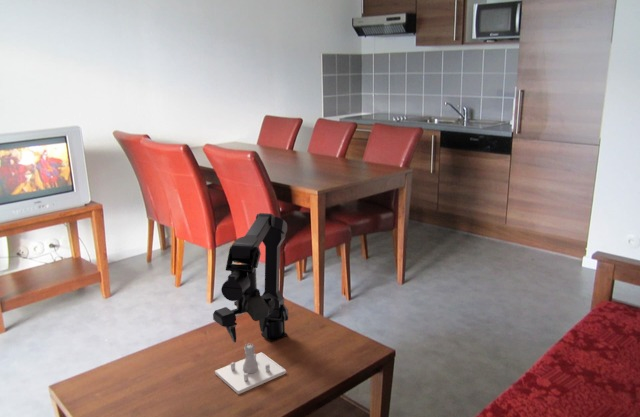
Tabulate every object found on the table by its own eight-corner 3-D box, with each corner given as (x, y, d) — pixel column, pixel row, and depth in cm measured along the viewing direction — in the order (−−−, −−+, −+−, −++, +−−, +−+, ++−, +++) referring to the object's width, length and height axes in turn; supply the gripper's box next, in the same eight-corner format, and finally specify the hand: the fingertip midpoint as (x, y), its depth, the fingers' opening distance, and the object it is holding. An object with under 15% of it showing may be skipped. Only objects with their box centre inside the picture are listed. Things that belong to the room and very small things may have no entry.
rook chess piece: (239, 370, 156) (238, 346, 154) (250, 364, 160) (249, 340, 158) (250, 376, 154) (249, 351, 152) (261, 369, 157) (260, 344, 155)
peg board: (261, 355, 167) (261, 346, 166) (286, 373, 157) (285, 364, 156) (215, 373, 157) (214, 364, 156) (238, 394, 147) (237, 384, 146)
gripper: (231, 305, 138) (234, 359, 142) (290, 285, 149) (292, 336, 153) (210, 291, 146) (214, 343, 150) (268, 274, 158) (269, 322, 162)
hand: (248, 336), depth 154 cm, fingers open, 9 cm apart
